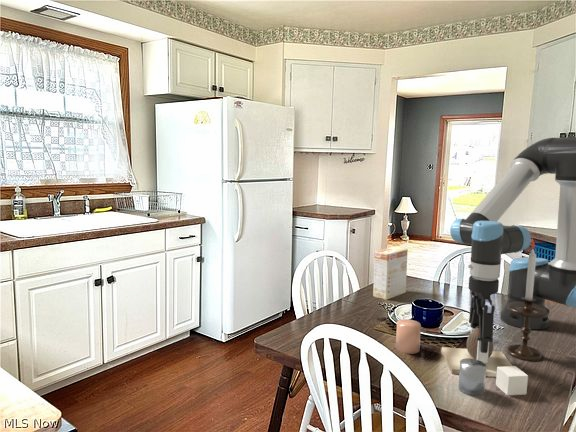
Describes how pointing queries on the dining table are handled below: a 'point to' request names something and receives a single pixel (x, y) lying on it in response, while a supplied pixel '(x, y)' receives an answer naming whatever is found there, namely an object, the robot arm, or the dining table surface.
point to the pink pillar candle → (408, 336)
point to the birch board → (457, 354)
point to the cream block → (511, 380)
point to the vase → (476, 344)
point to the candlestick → (527, 315)
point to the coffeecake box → (390, 272)
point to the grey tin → (472, 377)
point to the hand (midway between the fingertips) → (478, 356)
